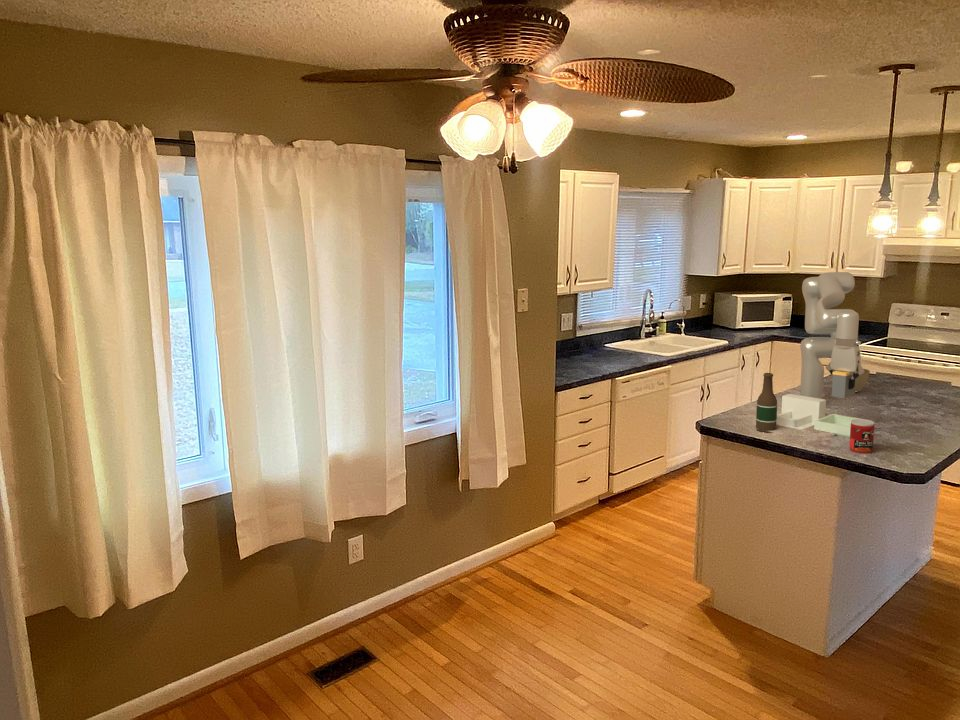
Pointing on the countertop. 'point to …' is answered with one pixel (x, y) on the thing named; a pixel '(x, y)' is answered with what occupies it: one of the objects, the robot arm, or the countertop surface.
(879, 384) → the countertop surface
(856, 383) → the planter bowl
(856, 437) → the canned food
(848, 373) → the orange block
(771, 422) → the beer bottle
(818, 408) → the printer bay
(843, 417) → the tray
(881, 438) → the countertop surface
